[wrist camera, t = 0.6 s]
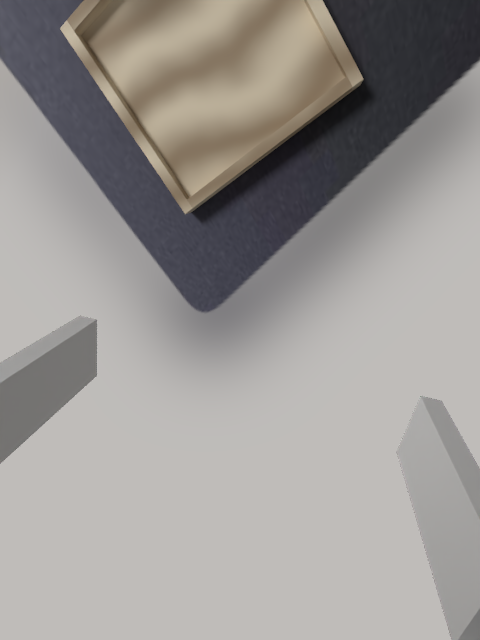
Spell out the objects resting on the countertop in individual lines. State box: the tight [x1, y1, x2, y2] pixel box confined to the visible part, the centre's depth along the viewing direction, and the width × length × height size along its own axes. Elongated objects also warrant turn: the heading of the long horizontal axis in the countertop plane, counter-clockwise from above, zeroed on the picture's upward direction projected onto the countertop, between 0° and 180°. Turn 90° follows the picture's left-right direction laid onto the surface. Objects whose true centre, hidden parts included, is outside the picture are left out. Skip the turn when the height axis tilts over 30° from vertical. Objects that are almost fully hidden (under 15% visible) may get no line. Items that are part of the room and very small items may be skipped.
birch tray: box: [60, 0, 363, 214], centre depth 33 cm, size 20×20×2 cm
